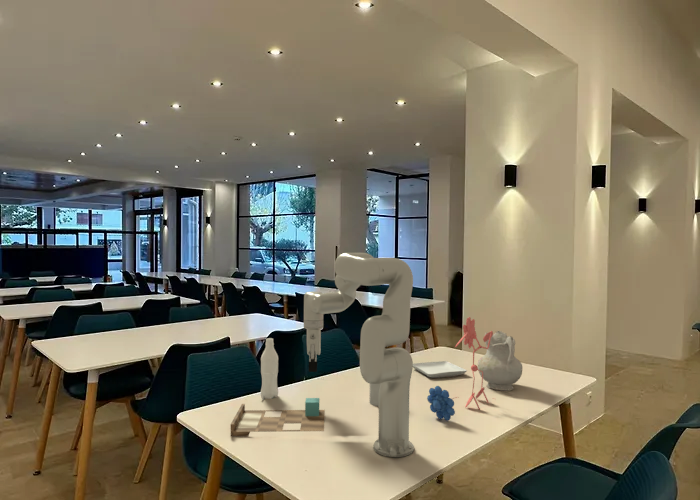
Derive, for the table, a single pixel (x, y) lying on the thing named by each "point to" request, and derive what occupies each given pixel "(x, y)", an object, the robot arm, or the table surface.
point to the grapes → (441, 403)
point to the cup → (374, 394)
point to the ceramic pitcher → (500, 363)
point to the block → (312, 407)
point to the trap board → (273, 421)
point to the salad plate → (439, 369)
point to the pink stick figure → (469, 336)
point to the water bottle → (269, 370)
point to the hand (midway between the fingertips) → (312, 371)
